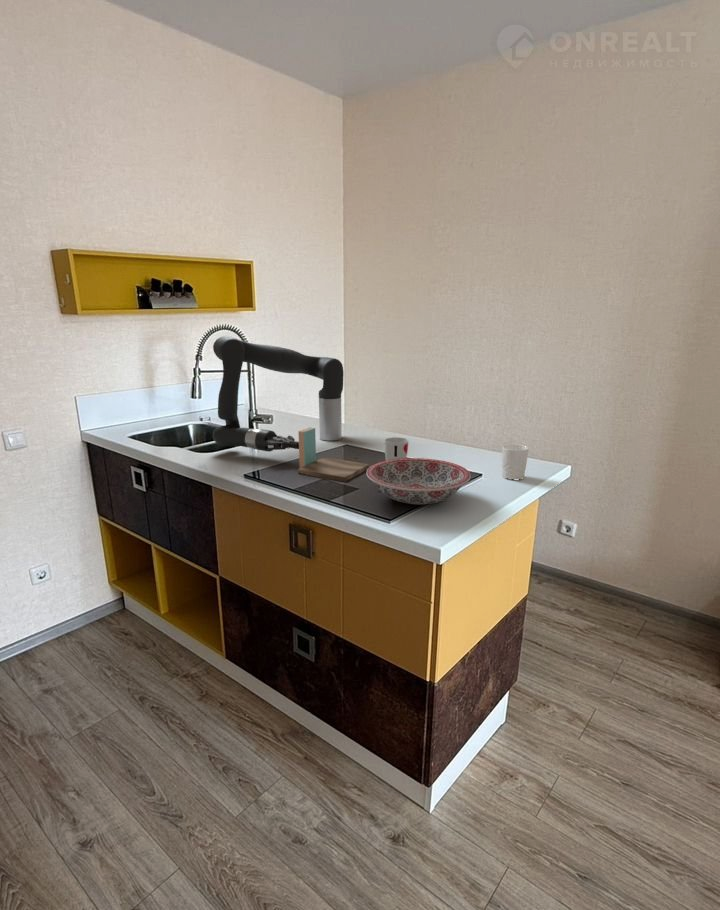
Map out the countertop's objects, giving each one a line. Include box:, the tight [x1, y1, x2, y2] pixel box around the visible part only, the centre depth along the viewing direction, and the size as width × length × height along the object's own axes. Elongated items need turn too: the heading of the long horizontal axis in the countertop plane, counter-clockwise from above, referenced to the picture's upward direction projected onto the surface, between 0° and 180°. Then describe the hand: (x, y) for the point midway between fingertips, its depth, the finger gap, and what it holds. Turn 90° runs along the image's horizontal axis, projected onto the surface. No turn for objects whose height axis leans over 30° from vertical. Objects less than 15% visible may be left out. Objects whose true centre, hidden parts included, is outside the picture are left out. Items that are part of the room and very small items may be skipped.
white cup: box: [501, 443, 529, 480], centre depth 167 cm, size 8×8×10 cm
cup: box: [383, 436, 409, 461], centre depth 176 cm, size 8×8×10 cm
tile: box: [297, 427, 317, 468], centre depth 178 cm, size 6×2×13 cm, turn 151°
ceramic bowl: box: [365, 457, 472, 505], centre depth 148 cm, size 29×29×8 cm
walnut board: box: [297, 456, 370, 483], centre depth 175 cm, size 16×18×2 cm
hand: (300, 445), depth 179 cm, fingers closed
